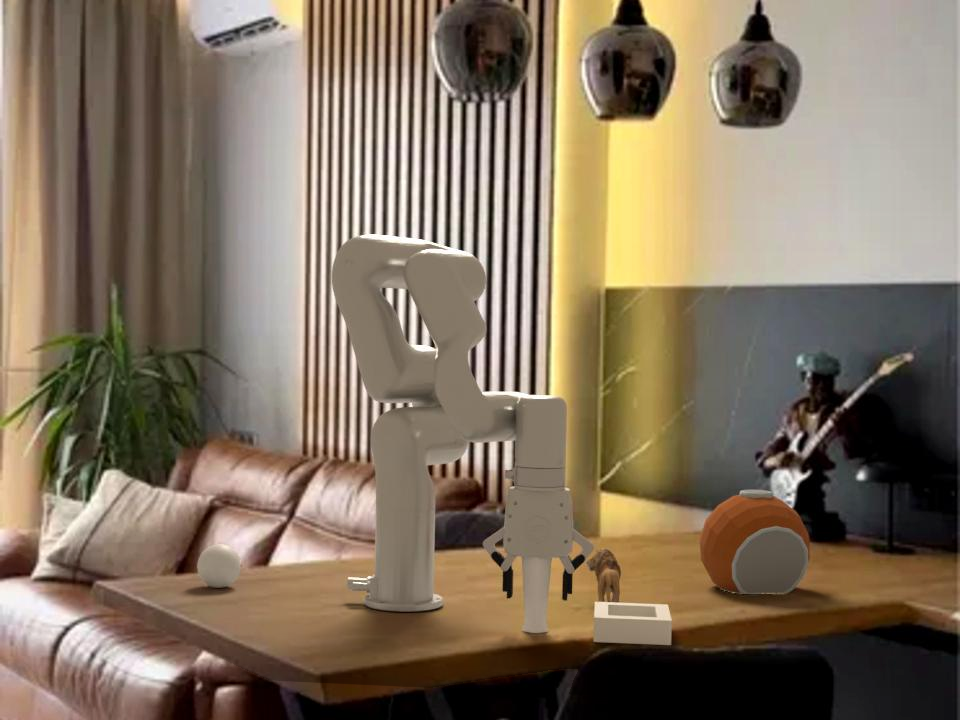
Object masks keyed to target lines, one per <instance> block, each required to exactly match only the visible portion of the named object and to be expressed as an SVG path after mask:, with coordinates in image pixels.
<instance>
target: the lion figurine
mask: <svg viewBox="0 0 960 720" xmlns="http://www.w3.org/2000/svg"><path fill="white" fill-rule="evenodd" d="M595 552H596V553H595V554H594V555H593V556H592V557H591V558H589V559H588V560H587V559H586V560H585V563H586V566H587V567H588V569H589V572H591V573H592V572H594V575H595V577H596V581H597V596H598V601H597V602H617V603H620V594H621V587H620V580H621V575H622V571H621V566H620V565H619V563H618V560H617V558H616V557H615V556H614V555H615V554H613V553H612V552H611V550H609V549H608V548H603V547H602V548H597V549H596V551H595ZM611 593H612V598H611ZM605 595H606V600H605Z"/></svg>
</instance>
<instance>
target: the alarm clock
mask: <svg viewBox="0 0 960 720" xmlns="http://www.w3.org/2000/svg"><path fill="white" fill-rule="evenodd" d="M699 546H700V548H699V549H700V561H701V563H702V565H703V567H704V569H705V571H706V572H707V574H708V576H709V577H710V579H711V582H712V583H713V584H715V585H716V586H717V588H718V587H719V588H720V589H721V590H725V591H729V592H735V593H742V594H762V593H764V594H767V593H770V594H771V593H775V594H774V595H777V594H776V593H780V594H779V595H782V594H781V593H787V594H789V593H791V592H792V591H793V590H794V589H795V588H796V587H797V586H798V585H799V583H800V582H801V581H802V580H803V579H804V576H805V574H806V571H807V568H808V565H809V562H810V559H811V558H810V557H811V552H810V551H811V550H810V535H809V531H808V530H807V528H806V526H805V524H804V523H803V520H802V518H801V516H800V515H799V513H798V512H797V511H796V509H794V508H792V507H791V506H790V505H788V504H787V503H786V502H784V501H783V500H782V499H780V498H779V497H777V496H775V495H774V493H773V492H772V491H770V490H765V489H743V490H740V491H739V494H736V495H733V496H732V495H731V497H729V498H728V499H725V500H724V501H723V502H721V503H720V504H717V506H716V507H715V508H714V509H713V510H712V512H711V513H710V514H709V515H708V517H706V519H705V521H704V525H703V527H702V530H701V533H700V536H699ZM719 588H718V589H719ZM720 589H719V590H720ZM721 590H720V591H721ZM725 591H724V592H725Z"/></svg>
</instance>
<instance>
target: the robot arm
mask: <svg viewBox="0 0 960 720" xmlns="http://www.w3.org/2000/svg"><path fill="white" fill-rule="evenodd" d="M331 285H332V291H333V295H334V299H335V301H336V304H337V306H338V309H339V311H340V313H341V315H342V318H343V320H344V322H345V326H346V328H347V331H348V335H349V338H350V342H351V346H352V349H353V352H354V356H355V360H356V362H357V367H358V370H359V373H360V376H361V380H362V383H363V386H364V388H365V390H366V391H365V392H366V393H367V394H368V396H369V397H370V398H371V399H372V400H374V401H375V402H378V403H382V404H383V403H385V404H406V403H407V404H411V405H412V406H403V407H402V406H401V407H397V408H396V407H395V408H393V409H389V410H387V411H385V412H383V413H382V414H381V415H380V416H379V417H378V418H377V419H376V421H375V422H374V423H373V426H372V429H371V433H370V434H371V435H370V447H371V453H372V458H373V459H372V460H373V463H374V464H373V465H374V470H375V471H374V473H375V528H374V529H375V530H374V531H375V533H374V535H375V537H374V539H375V541H374V542H375V543H374V573H373V575H372V576H367V578H360V577H348V578H347V583H346V584H347V585H346V586H347V590H352V591H353V592H361V591H363V592H364V591H365V592H366V593H369V594H366V595H365V596H364V597H363V598H364V599H363V600H364V601H363V604H364V605H365V606H366V607H368V608H370V609H373V610H374V609H375V610H379V611H387V612H400V613H401V612H409V613H410V612H424V611H431V610H435V609H439V608H441V607H442V606H443V604H444V597H442V596H441V595H439V594H437V593H434V583H435V582H434V580H435V578H434V577H435V575H434V573H435V543H436V542H435V537H436V535H435V534H436V533H435V532H436V531H435V530H436V490H435V485H434V483H433V479H432V478H431V475H430V472H429V469H428V466H436V465H445V464H451V463H453V462H456V461H457V460H460V459H461V458H462V457H463V456H464V454H465V453H466V451H467V449H468V447H469V445H470V444H469V443H474V444H475V443H478V444H479V443H480V444H481V443H493V442H499V443H500V442H501V443H502V442H513V441H515V443H514V467H512V468H511V469H504V479H505V480H509V481H512V482H513V484H514V486H510V487H509V488H508V490H507V496H506V501H505V502H506V503H505V510H504V511H505V512H504V523H503V524H504V525H503V526H502V527H501V528H500V529H498V530H497V531H496V532H495V533H492V534H491V535H490V536H488V537H487V538H486V539H484V540H483V541H482V546H483V548H484V549H485V550H486V552H487V553H488V555H489V556H490V558H491V560H492V561H494V563H495V564H496V565H497V566H498V567H499V568H500V569H501V571H502V592H504V593H505V592H506V599H509V600H510V599H511V598H512V597H513V596H514V569H513V568H512V567H513V566H512V565H513V562H514V561H515V559H516V558H517V557H521V558H522V557H544V558H552V559H553V558H554V559H559V560H560V562H561V564H562V566H563V572H562V591H561V594H562V595H561V600H562V601H566V602H568V595H573V574H574V573H575V571H576V570H577V569H578V568H579V567H581V565H583V564H584V562H586V561H587V559H588V558H589V556H590V555H591V554H592V552H593V551H594V550H595V544H594V543H593V542H591V541H590V540H589V539H588V538H586V537H585V536H584V535H582V534H581V533H580V532H579V531H577V530H576V529H575V528H574V515H573V511H574V510H573V503H572V494H571V489H570V488H568V487H566V467H567V466H566V465H567V464H566V463H567V461H566V460H567V429H568V428H567V423H568V422H567V421H568V419H567V418H568V416H567V415H568V407H567V402H566V400H565V399H564V398H563V397H561V396H557V395H550V394H549V395H547V394H546V395H545V394H527V393H523V392H519V391H481V389H480V387H479V384H478V382H477V381H476V378H475V377H474V375H473V372H472V370H471V367H470V363H469V351H471V350H472V349H473V348H475V347H476V346H477V345H478V344H480V342H482V340H483V338H484V337H485V336H486V333H487V330H488V329H487V324H486V321H485V320H484V317H482V313H481V312H480V310H479V308H478V306H477V305H476V302H475V301H478V299H480V298H481V297H482V295H483V293H484V291H485V289H486V285H487V276H486V272H485V269H484V266H483V265H482V263H481V261H480V260H479V259H478V258H477V257H476V256H475V255H473V254H471V253H469V252H467V251H464V250H459V249H454V248H451V247H448V246H445V245H441V244H437V243H435V242H431V241H427V240H424V239H420V238H419V239H418V238H411V237H401V236H391V235H382V234H363V235H358V236H357V235H356V236H353V237H352V238H349V239H348V240H346V241H345V242H344V243H343V244H342V245H341V246H340V248H339V249H338V251H337V253H336V255H335V257H334V260H333V265H332V269H331ZM381 288H384V289H399V290H402V289H403V290H408V293H409V294H410V296H411V299H412V301H413V303H414V305H415V307H416V309H417V311H418V314H419V315H420V317H421V318H422V321H423V323H424V325H425V326H426V327H425V328H426V329H427V331H428V334H429V335H430V338H431V339H432V341H433V343H434V345H435V348H434V347H431V346H429V345H424V344H422V345H420V344H410V343H409V342H408V341H407V339H406V337H405V334H404V331H403V329H402V326H401V325H402V324H401V321H400V318H399V316H398V314H397V312H396V310H395V308H394V307H393V305H392V304H391V302H389V300H388V299H387V298H386V297H385V295H384V294H383V293H382V291H381ZM501 540H503V551H504V553H506V554H507V555H506V556H503V554H502V553H501V552H500V551H499V550H498V549H497V547H496V544H497V543H498V542H499V541H501ZM574 542H575V543H577V544H578V545H579V546H580V547H581V548H582V549H581V551H580V552H579V553H578V554H577V555H576V556H575V557H574V558H573V559H572V558H571V556H570V555H571V554H572V551H573V547H574Z"/></svg>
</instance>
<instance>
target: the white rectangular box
mask: <svg viewBox="0 0 960 720" xmlns="http://www.w3.org/2000/svg"><path fill="white" fill-rule="evenodd" d="M593 614H594V615H593V616H594V617H593V618H594V619H593V642H594V643H609V644H610V643H611V644H612V643H613V644H630V645H631V644H635V645H636V644H637V645H658V646H661V645H662V646H672V625H673V621H672V620H673V619H672V615H671V612H670V608H669V604H662V603H635V602H619V603H617V602H607V601H605V602H598V601H594V612H593Z"/></svg>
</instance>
